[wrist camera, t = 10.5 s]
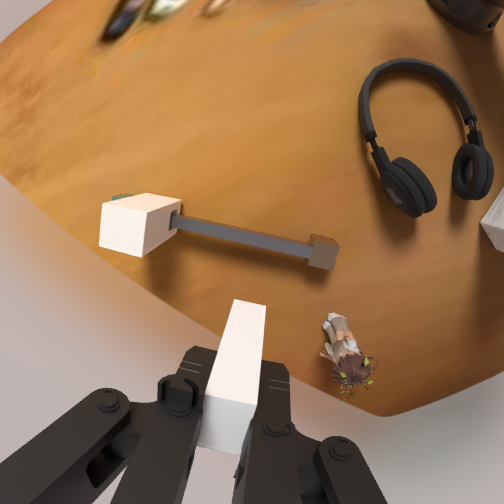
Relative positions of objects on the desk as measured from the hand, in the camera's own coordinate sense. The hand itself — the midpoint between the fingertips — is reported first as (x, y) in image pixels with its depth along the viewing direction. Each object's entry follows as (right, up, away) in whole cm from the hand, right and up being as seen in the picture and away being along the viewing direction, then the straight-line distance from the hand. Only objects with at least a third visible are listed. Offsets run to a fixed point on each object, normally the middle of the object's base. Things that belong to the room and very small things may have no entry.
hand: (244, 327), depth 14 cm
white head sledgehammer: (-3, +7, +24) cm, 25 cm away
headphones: (+22, +19, +19) cm, 35 cm away
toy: (+12, -6, +26) cm, 30 cm away
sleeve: (-11, +9, +23) cm, 27 cm away
